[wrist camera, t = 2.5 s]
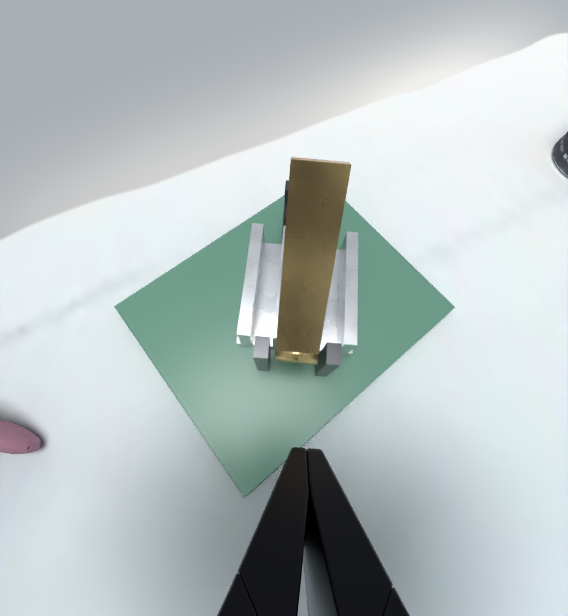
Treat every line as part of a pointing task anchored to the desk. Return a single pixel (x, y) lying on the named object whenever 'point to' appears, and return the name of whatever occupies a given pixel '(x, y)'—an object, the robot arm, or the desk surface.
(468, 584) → the desk surface
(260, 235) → the heatsink mount
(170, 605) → the desk surface
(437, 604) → the desk surface
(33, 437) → the pink curved lobed piece
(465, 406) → the desk surface
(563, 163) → the pill bottle
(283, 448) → the motherboard
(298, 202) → the bar
